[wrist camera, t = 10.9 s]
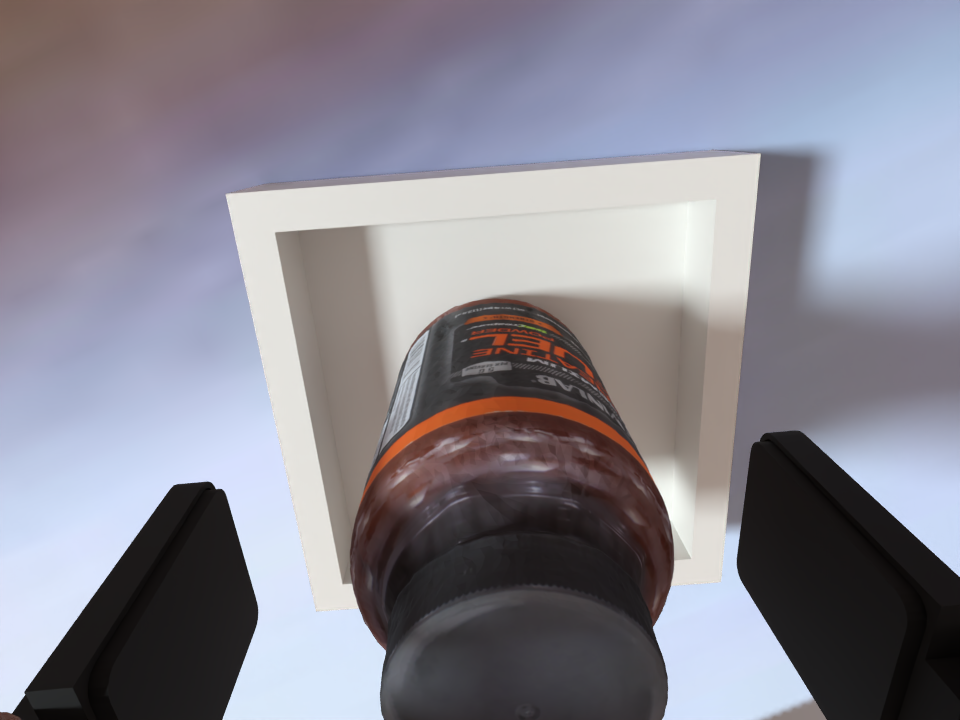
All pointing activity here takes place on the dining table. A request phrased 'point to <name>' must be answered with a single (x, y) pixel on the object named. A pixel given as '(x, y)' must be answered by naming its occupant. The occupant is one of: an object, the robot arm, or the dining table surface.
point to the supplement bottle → (511, 532)
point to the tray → (505, 275)
